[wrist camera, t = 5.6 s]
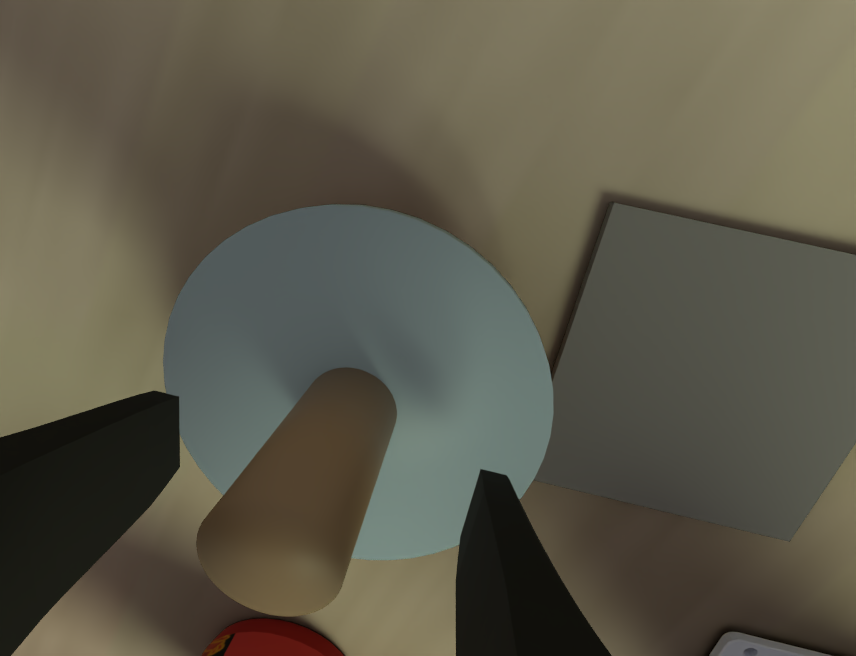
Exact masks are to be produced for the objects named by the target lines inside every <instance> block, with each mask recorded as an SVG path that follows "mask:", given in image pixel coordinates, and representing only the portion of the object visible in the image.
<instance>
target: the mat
mask: <svg viewBox="0 0 856 656" xmlns="http://www.w3.org/2000/svg"><path fill="white" fill-rule="evenodd" d="M551 379H552V385H553V412H554V414H553V421H552V428H551V435H550V439H549V443H548V446H547V449H546V453H545V456H544V459H543V461H542V463H541V465H540V468H539V470H538V472H537V474H536V476H535V478H534V480H535V481H539V482H543V483H547V484H551V485H555V486H560V487H564V488H568V489H572V490H576V491H580V492H585V493H589V494H593V495H597V496H601V497H606V498H610V499H614V500H618V501H622V502H626V503H631V504H635V505H639V506H643V507H647V508H651V509H656V510H660V511H664V512H668V513H672V514H676V515H681V516H685V517H689V518H693V519H697V520H701V521H706V522H710V523H714V524H718V525H722V526H726V527H731V528H735V529H739V530H743V531H747V532H751V533H756V534H760V535H764V536H768V537H772V538H776V539H781V540H785V541H789V542H790V540H791V539H792V537H793V536H794V534H795V533H796V531H797V530H798V528H799V527H800V525H801V524H802V522H803V521H804V520H805V518H806V517H807V515H808V514H809V512H810V511H811V509H812V508H813V506H814V505H815V503H816V502H817V500H818V499H819V497H820V496H821V494H822V493H823V491H824V490H825V488H826V487H827V485H828V484H829V482H830V481H831V479H832V478H833V476H834V475H835V473H836V472H837V470H838V469H839V467H840V466H841V464H842V463H843V461H844V460H845V458H846V457H847V455H848V454H849V452H850V451H851V449H852V448H853V446H854V445H855V443H856V255H854V254H849V253H845V252H840V251H835V250H831V249H826V248H822V247H817V246H812V245H808V244H803V243H798V242H794V241H789V240H785V239H780V238H775V237H771V236H766V235H762V234H757V233H752V232H748V231H743V230H738V229H734V228H729V227H725V226H720V225H715V224H711V223H706V222H701V221H697V220H692V219H688V218H683V217H678V216H674V215H669V214H665V213H660V212H655V211H651V210H646V209H641V208H637V207H632V206H628V205H623V204H618V203H614V202H610V204H609V207H608V210H607V213H606V216H605V218H604V221H603V224H602V227H601V230H600V233H599V236H598V239H597V242H596V245H595V248H594V251H593V254H592V257H591V259H590V262H589V265H588V268H587V271H586V274H585V277H584V280H583V283H582V286H581V289H580V292H579V295H578V298H577V300H576V303H575V306H574V309H573V312H572V315H571V318H570V321H569V324H568V327H567V330H566V333H565V336H564V339H563V342H562V344H561V347H560V350H559V353H558V356H557V359H556V362H555V365H554V368H553V371H552V374H551Z"/></svg>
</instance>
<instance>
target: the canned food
mask: <svg viewBox="0 0 856 656" xmlns="http://www.w3.org/2000/svg"><path fill="white" fill-rule="evenodd" d="M201 656H343V654H342V653H341V652H340V651H339V650H338V649H337V648H336V647H335V646H334V645H333V644H332V643H331V642H330V641H328V640H327V639H325V638H324V637H322V636H321V635H320V634H318V633H316V632H314V631H312V630H310V629H308V628H306V627H303V626H300V625H298V624H295V623H292V622H287V621H283V620H278V619H268V618H261V619H249V620H245V621H241V622H237V623H235V624H233V625H231V626H228V627H227V628H226V629H225V630H223V631H222V632H221V633H220V634H219V635H218V636H217V637H216V638H215V639H214V640H213V641H212V642H211V643H210V644H209V645H208V646H207V648H206V649H205V651H204V652H203V654H202V655H201Z"/></svg>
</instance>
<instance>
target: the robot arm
mask: <svg viewBox="0 0 856 656" xmlns="http://www.w3.org/2000/svg"><path fill="white" fill-rule="evenodd" d="M179 467H180V434H179V396H175V395H171V394H166V393H162V392H158V391H151V392H147V393H143V394H139V395H136V396H132V397H129V398H126V399H123V400H119V401H116V402H113V403H110V404H107V405H104V406H100V407H97V408H94V409H91V410H88V411H85V412H82V413H79V414H76V415H72V416H69V417H66V418H63V419H60V420H57V421H54V422H51V423H48V424H44V425H41V426H38V427H35V428H31V429H28V430H24V431H21V432H18V433H14V434H11V435H7V436H4V437H1V438H0V656H11V655H12V654H13V653H14V651H15V650H16V649H17V648H18V647H19V645H20V644H21V643H22V642H23V641H24V639H25V638H26V637H27V636H28V635H29V633H30V632H31V631H32V630H33V629H34V627H35V626H36V625H37V624H38V623H39V621H40V620H41V619H42V618H43V617H44V616H45V615H46V614H47V613H48V612H49V610H50V609H51V608H52V607H53V606H54V605H55V604H56V603H57V602H58V601H59V600H60V598H61V597H62V596H63V595H64V594H65V593H66V592H67V591H68V590H69V589H70V588H71V587H72V586H73V585H74V584H75V583H76V582H77V581H78V580H79V579H80V578H81V577H82V576H83V575H84V574H85V573H86V572H87V571H88V570H89V569H90V568H91V567H92V566H93V565H94V564H95V563H96V562H97V560H98V559H99V558H100V557H101V556H102V555H103V554H104V553H105V552H106V551H107V550H108V549H109V548H110V547H111V546H112V545H113V544H114V543H115V542H116V541H117V540H118V539H119V538H120V537H121V536H122V535H123V534H124V533H125V532H126V531H127V530H128V529H129V528H130V527H131V526H132V525H133V523H134V522H135V521H136V520H137V519H138V518H139V517H140V516H141V515H142V514H143V513H144V512H145V511H146V510H147V509H148V508H149V507H150V506H151V504H152V503H153V502H154V501H155V499H156V498H157V497H158V495H159V494H160V493H161V492H162V490H163V489H164V488H165V486H166V485H167V484H168V482H169V481H170V480H171V478H172V477H173V476H174V474H175V473H176V472H177V470H178V469H179ZM456 656H611V654H610V653H609V651H608V650H607V649H606V647H605V646H604V644H603V643H602V642H601V640H600V639H599V637H598V636H597V634H596V633H595V632H594V630H593V629H592V627H591V626H590V624H589V623H588V621H587V620H586V618H585V617H584V615H583V614H582V612H581V611H580V609H579V607H578V606H577V604H576V603H575V601H574V600H573V598H572V596H571V595H570V593H569V591H568V590H567V588H566V586H565V585H564V583H563V582H562V580H561V578H560V576H559V575H558V573H557V571H556V570H555V568H554V566H553V564H552V563H551V561H550V559H549V557H548V555H547V553H546V552H545V550H544V548H543V546H542V544H541V542H540V541H539V539H538V537H537V535H536V533H535V531H534V529H533V527H532V525H531V523H530V521H529V519H528V517H527V515H526V513H525V511H524V509H523V507H522V505H521V503H520V501H519V499H518V496H517V494H516V492H515V490H514V488H513V486H512V483H511V481H510V479H509V478H508V476H507V475H504V474H500V473H496V472H491V471H487V470H483V469H480V473H479V476H478V479H477V483H476V486H475V489H474V493H473V496H472V499H471V502H470V506H469V509H468V512H467V516H466V519H465V522H464V526H463V529H462V532H461V536H460V544H459V554H458V564H457V574H456ZM709 656H832V655H828V654H824V653H820V652H816V651H812V650H808V649H804V648H800V647H796V646H792V645H788V644H784V643H779V642H775V641H771V640H767V639H763V638H759V637H755V636H751V635H747V634H743V633H739V632H728V633H726V634H724V635H723V636H722V637H721V638H720V640H719V641H718V643H717V644H716V646H715V647H714V649H713V650H712V652H711V653H710V655H709Z"/></svg>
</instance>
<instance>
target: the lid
mask: <svg viewBox="0 0 856 656" xmlns="http://www.w3.org/2000/svg"><path fill="white" fill-rule="evenodd" d="M163 366H164V380H165V388H166V393H167V394H171V395H175V396H179V433H180V435H181V437H182V440H183V442H184V444H185V446H186V448H187V449H188V451H189V452H190V454H191V456H192V457H193V459H194V460H195V462H196V463H197V465H198V467H199V468H200V469H201V470H202V472H203V473H204V474H205V475H206V477H207V478H208V479H209V480H210V482H211V483H212V484H213V485H214V486H215V487H216V488H217V489H218V490H219V491H220V492H221V493H222V494H223V497H222V498H221V499H220V500H219V502H218V503H217V504H216V505H215V507H214V508H213V509H212V510H211V512H210V513H209V514H208V516H207V517H206V518H205V519H204V521H203V522H202V524H201V526H200V528H199V531H198V534H197V541H196V544H197V553H198V557H199V560H200V563H201V565H202V567H203V569H204V571H205V572H206V574H207V575H208V577H209V578H210V579H211V581H212V582H213V583H214V584H215V585H216V586H217V587H218V588H219V589H220V590H221V591H222V592H223V593H225V594H226V595H227V596H229V597H230V598H232V599H233V600H235V601H236V602H238V603H240V604H242V605H244V606H246V607H248V608H250V609H253V610H255V611H258V612H262V613H265V614H270V615H276V616H301V615H306V614H310V613H313V612H316V611H318V610H320V609H322V608H324V607H325V606H327V605H328V604H329V603H330V602H332V601H333V600H334V599H335V597H336V596H337V595H338V593H339V591H340V589H341V587H342V584H343V581H344V578H345V575H346V572H347V569H348V566H349V563H350V560H351V558H356V559H365V560H397V559H408V558H415V557H420V556H425V555H429V554H434V553H437V552H440V551H443V550H446V549H449V548H452V547H455V546H457V545H459V544H460V536H461V532H462V529H463V526H464V522H465V519H466V516H467V512H468V509H469V506H470V502H471V499H472V496H473V493H474V489H475V486H476V483H477V479H478V476H479V473H480V469H483V470H487V471H491V472H496V473H500V474H504V475H507V476H508V478H509V479H510V481H511V483H512V486H513V488H514V490H515V492H516V494H517V496H518V499H519V500H520V499H521V497H522V496H523V495H524V493H525V492H526V490H527V489H528V487H529V486H530V484H531V483H532V481H533V480H534V478H535V476H536V474H537V472H538V470H539V468H540V465H541V463H542V461H543V459H544V456H545V453H546V449H547V446H548V443H549V439H550V435H551V428H552V421H553V414H554V412H553V385H552V379H551V374H550V368H549V363H548V360H547V357H546V354H545V351H544V348H543V344H542V341H541V338H540V336H539V333H538V331H537V329H536V327H535V325H534V323H533V321H532V319H531V317H530V315H529V312H528V310H527V308H526V307H525V305H524V304H523V302H522V301H521V299H520V298H519V296H518V295H517V294H516V292H515V291H514V289H513V288H512V286H511V285H510V284H509V283H508V281H507V280H506V279H505V278H504V277H503V276H502V275H501V274H500V273H499V272H498V270H497V269H496V268H495V267H494V266H493V265H492V264H491V263H490V262H489V261H487V260H486V259H485V258H484V257H483V256H481V255H480V254H479V253H478V252H477V251H475V250H474V249H473V248H472V247H471V246H469V245H468V244H466V243H465V242H463V241H462V240H460V239H458V238H457V237H455V236H454V235H452V234H451V233H449V232H447V231H446V230H444V229H442V228H439V227H437V226H435V225H433V224H431V223H429V222H426V221H424V220H422V219H420V218H417V217H414V216H411V215H407V214H404V213H401V212H398V211H395V210H391V209H385V208H379V207H374V206H368V205H355V204H330V205H321V206H312V207H305V208H299V209H295V210H291V211H288V212H284V213H280V214H276V215H272V216H270V217H267V218H265V219H263V220H260V221H258V222H256V223H253V224H251V225H249V226H246V227H245V228H243V229H242V230H240V231H238V232H237V233H235V234H234V235H232V236H230V237H229V238H227V239H226V240H224V241H223V242H222V243H221V244H220V245H218V246H217V247H216V248H215V249H214V250H213V251H212V252H210V253H209V254H208V255H207V256H206V257H205V258H204V259H203V260H202V262H201V263H200V264H199V265H198V267H197V268H196V269H195V270H194V271H193V273H192V274H191V275H190V276H189V278H188V280H187V282H186V283H185V285H184V287H183V288H182V290H181V292H180V294H179V295H178V297H177V300H176V303H175V305H174V308H173V310H172V313H171V315H170V318H169V323H168V327H167V332H166V337H165V344H164V358H163Z"/></svg>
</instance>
